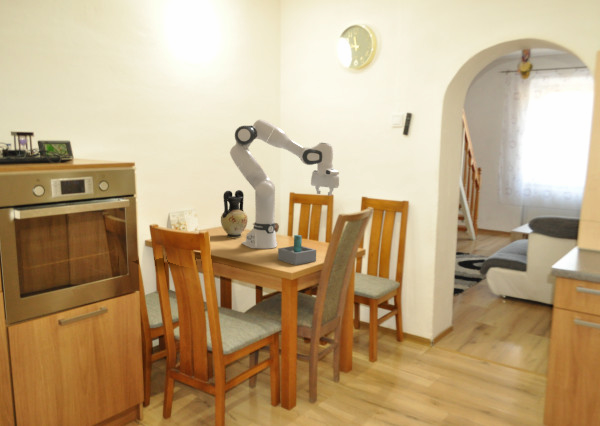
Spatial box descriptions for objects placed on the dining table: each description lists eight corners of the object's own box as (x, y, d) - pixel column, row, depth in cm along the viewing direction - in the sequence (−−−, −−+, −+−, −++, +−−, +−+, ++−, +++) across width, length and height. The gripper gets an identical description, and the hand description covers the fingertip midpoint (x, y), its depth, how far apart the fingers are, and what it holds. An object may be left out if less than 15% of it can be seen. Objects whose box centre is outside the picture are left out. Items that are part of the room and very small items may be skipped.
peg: (291, 258, 242) (292, 235, 241) (297, 257, 245) (298, 234, 243) (296, 259, 239) (297, 236, 238) (302, 258, 242) (303, 236, 240)
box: (277, 259, 243) (278, 248, 242) (298, 256, 252) (298, 245, 251) (295, 265, 232) (295, 253, 232) (315, 261, 242) (316, 249, 241)
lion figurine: (275, 235, 309) (276, 222, 308) (280, 236, 305) (281, 223, 303) (257, 237, 300) (257, 224, 298) (262, 239, 296) (262, 225, 294)
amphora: (233, 233, 313) (233, 188, 309) (252, 236, 304) (253, 190, 300) (214, 236, 299) (214, 190, 295) (234, 240, 289) (235, 192, 285)
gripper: (308, 170, 277) (308, 193, 279) (333, 172, 262) (332, 196, 264) (316, 170, 281) (315, 192, 283) (341, 171, 266) (340, 195, 268)
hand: (324, 194), depth 273 cm, fingers open, 8 cm apart
